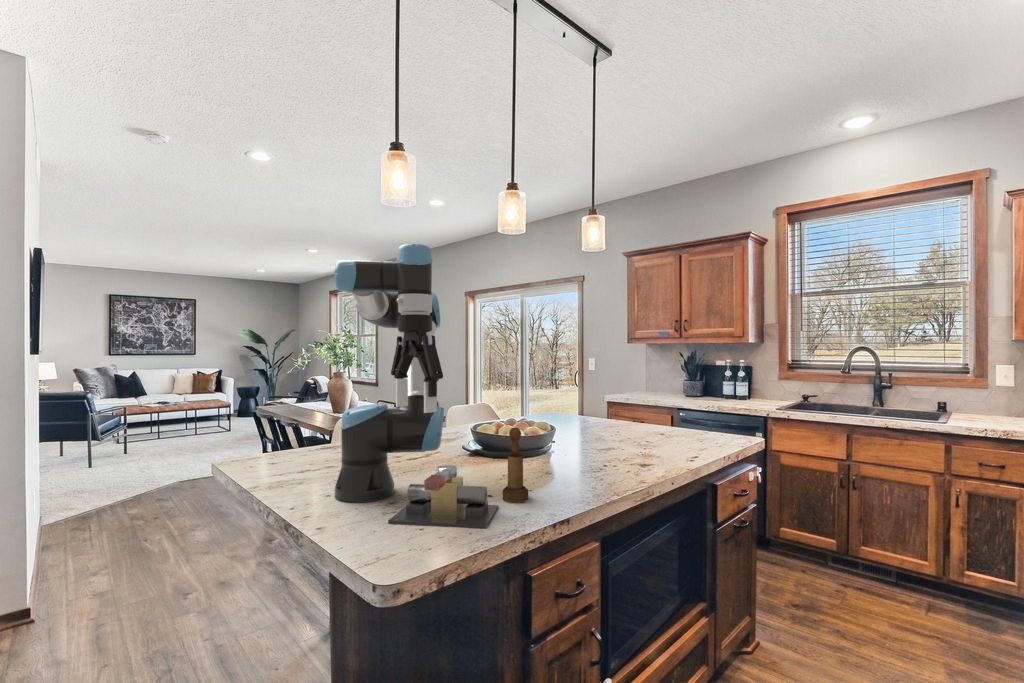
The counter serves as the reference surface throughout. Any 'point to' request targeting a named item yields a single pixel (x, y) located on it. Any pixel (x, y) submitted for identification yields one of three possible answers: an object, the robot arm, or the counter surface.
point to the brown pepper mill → (515, 472)
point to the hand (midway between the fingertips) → (415, 409)
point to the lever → (440, 477)
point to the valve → (447, 506)
